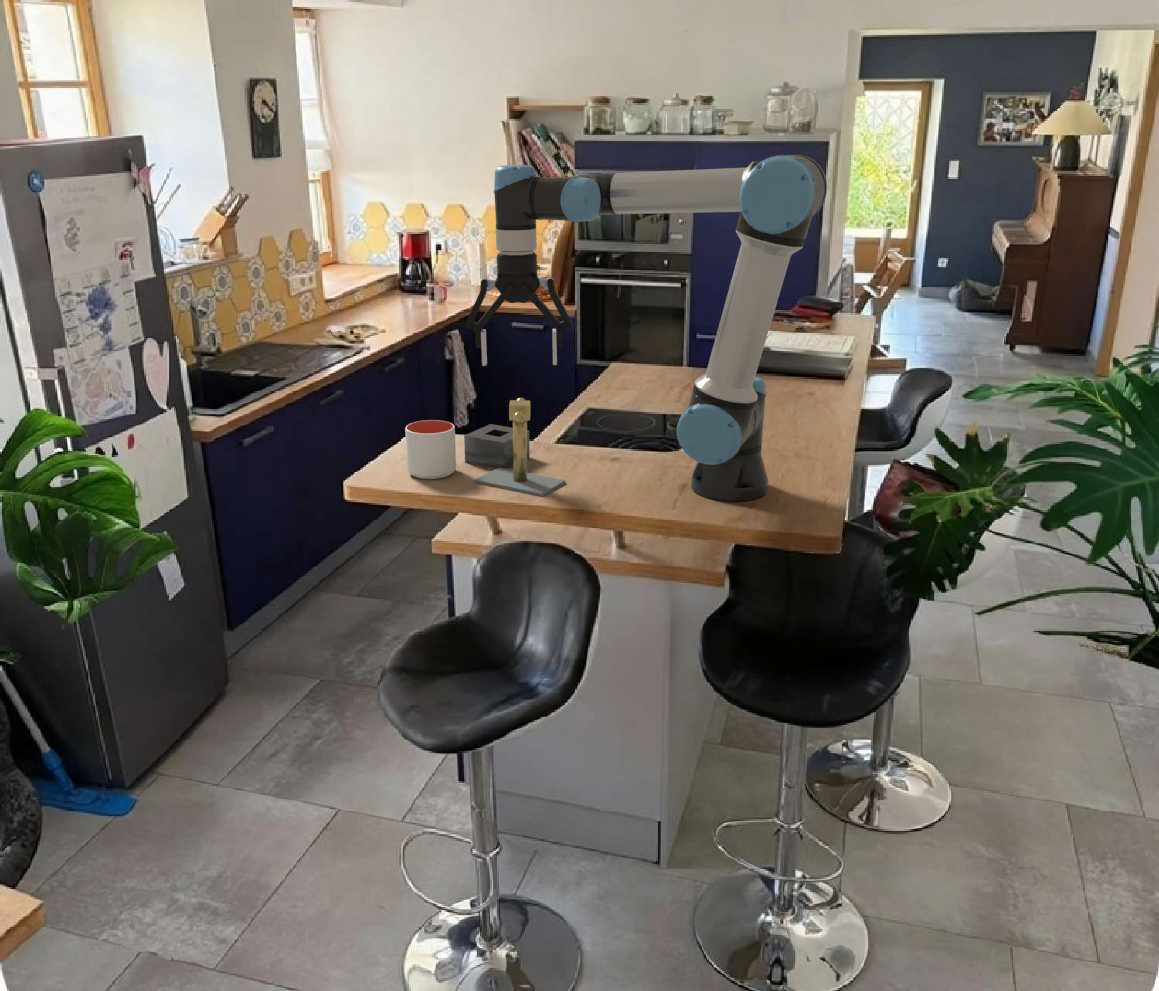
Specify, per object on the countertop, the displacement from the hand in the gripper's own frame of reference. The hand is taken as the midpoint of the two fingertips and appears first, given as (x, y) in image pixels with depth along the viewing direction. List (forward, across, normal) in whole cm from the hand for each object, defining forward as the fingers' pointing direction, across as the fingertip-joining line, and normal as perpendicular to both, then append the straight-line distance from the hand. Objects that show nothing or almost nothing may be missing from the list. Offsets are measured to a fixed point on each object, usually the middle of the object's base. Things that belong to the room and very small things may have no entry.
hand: (519, 364), depth 198 cm
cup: (+24, +19, -6) cm, 32 cm away
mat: (+24, +1, 0) cm, 25 cm away
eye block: (+24, +6, -15) cm, 29 cm away
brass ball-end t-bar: (+24, +1, 0) cm, 24 cm away
